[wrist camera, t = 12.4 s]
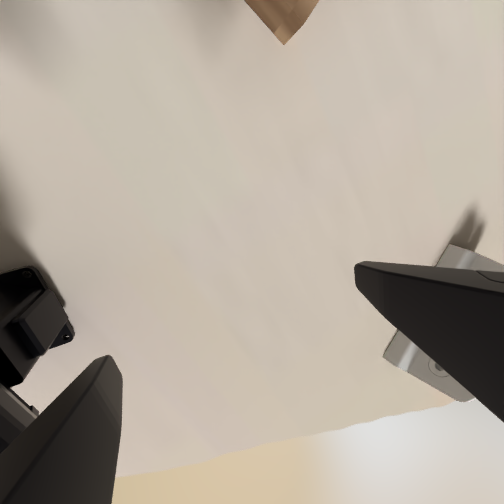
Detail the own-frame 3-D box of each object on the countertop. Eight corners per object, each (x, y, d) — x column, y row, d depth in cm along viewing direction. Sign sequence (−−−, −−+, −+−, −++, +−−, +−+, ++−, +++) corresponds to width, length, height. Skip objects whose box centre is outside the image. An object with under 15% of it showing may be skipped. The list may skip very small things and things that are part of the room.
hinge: (450, 240, 30) (579, 281, 23) (458, 249, 33) (572, 286, 26) (380, 359, 33) (475, 429, 25) (393, 356, 36) (480, 418, 28)
